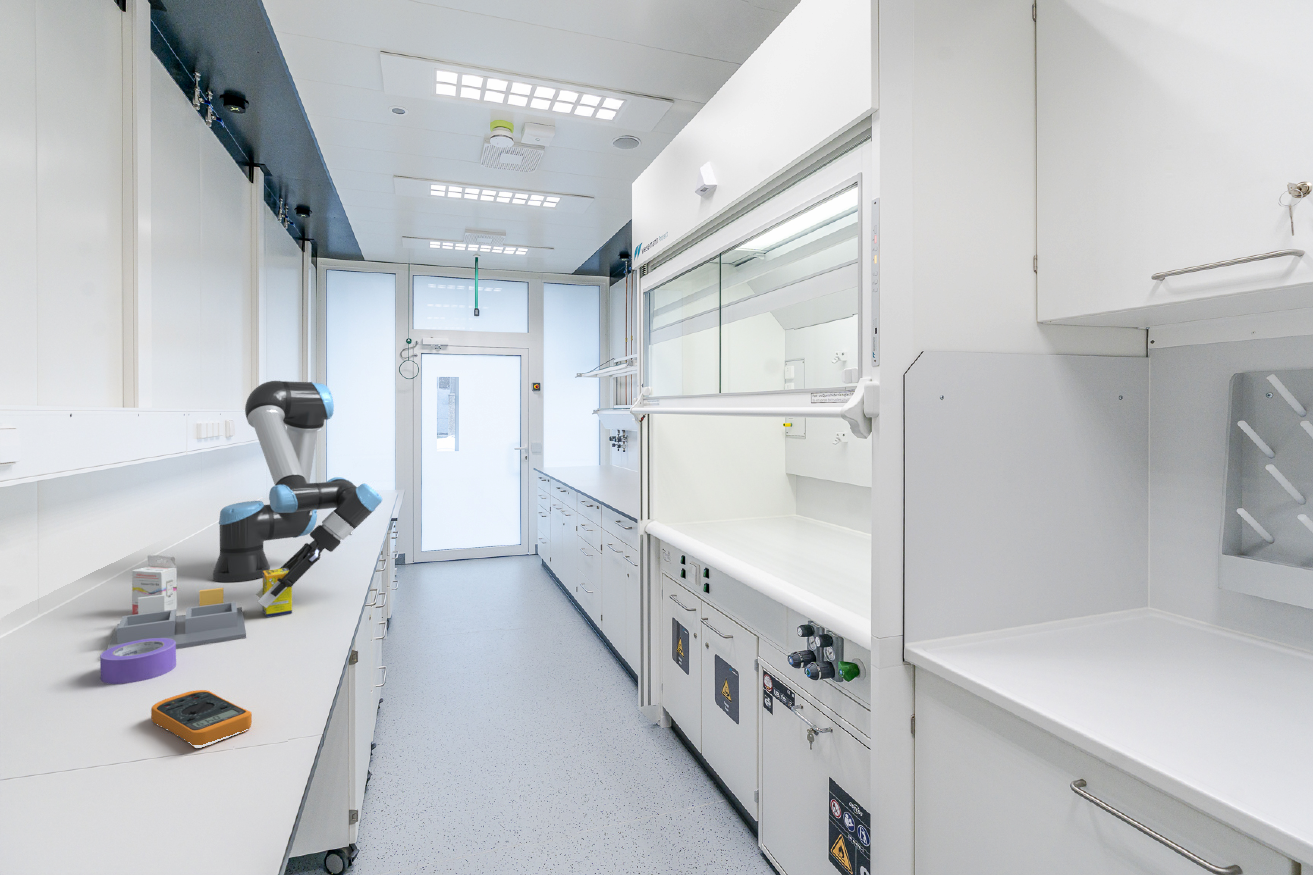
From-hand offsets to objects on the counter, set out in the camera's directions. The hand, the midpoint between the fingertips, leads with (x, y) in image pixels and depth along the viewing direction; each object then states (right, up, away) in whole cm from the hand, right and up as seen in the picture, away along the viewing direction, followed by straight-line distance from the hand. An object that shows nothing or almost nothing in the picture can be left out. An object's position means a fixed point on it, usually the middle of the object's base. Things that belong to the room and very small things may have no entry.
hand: (261, 600), depth 163 cm
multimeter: (+25, -7, -57) cm, 63 cm away
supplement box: (+3, -4, +2) cm, 5 cm away
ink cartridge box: (-28, -3, 0) cm, 28 cm away
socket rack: (-10, -4, -14) cm, 18 cm away
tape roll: (-2, -5, -36) cm, 36 cm away
